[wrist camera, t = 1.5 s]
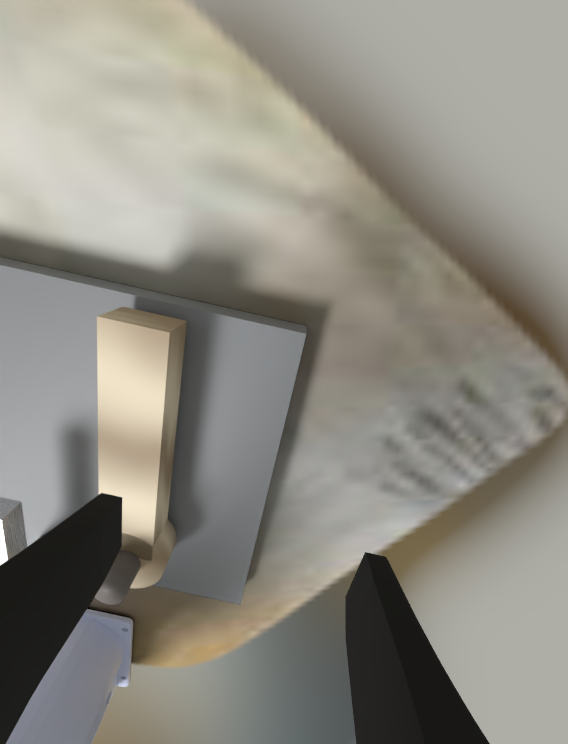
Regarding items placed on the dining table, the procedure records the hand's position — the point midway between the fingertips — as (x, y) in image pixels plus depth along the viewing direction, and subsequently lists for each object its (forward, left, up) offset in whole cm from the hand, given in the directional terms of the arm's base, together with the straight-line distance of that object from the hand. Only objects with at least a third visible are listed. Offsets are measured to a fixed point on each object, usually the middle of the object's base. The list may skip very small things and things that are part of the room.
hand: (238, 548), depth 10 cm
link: (-4, +6, -8) cm, 11 cm away
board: (-6, +9, -10) cm, 14 cm away
